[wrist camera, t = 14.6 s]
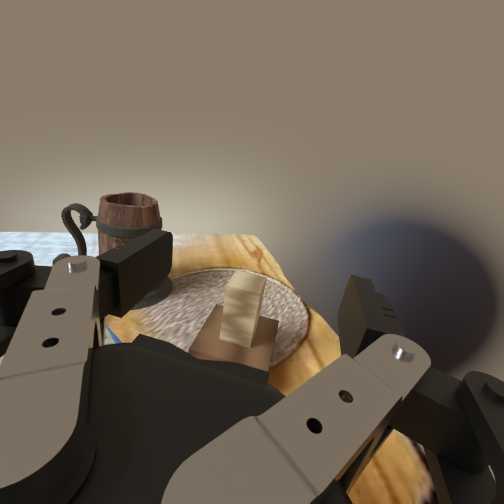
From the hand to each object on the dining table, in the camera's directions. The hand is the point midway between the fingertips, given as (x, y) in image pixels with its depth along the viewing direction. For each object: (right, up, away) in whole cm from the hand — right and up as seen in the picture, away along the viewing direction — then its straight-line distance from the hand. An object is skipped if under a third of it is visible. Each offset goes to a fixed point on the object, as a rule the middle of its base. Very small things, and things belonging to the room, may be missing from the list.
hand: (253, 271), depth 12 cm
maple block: (-2, -13, +33) cm, 35 cm away
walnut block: (-3, -17, +35) cm, 39 cm away
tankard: (-30, -7, +48) cm, 57 cm away
